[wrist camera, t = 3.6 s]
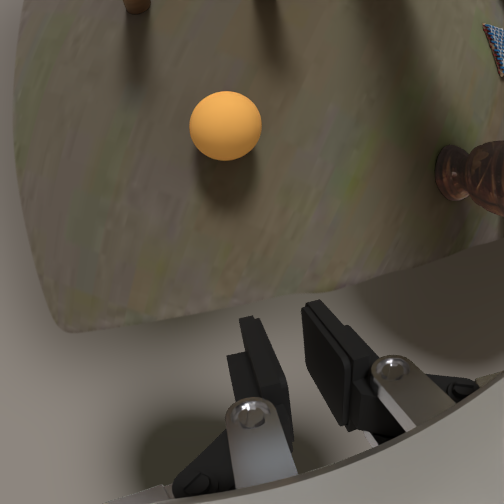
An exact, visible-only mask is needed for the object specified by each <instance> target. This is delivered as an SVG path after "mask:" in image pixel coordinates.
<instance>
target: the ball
mask: <svg viewBox="0 0 504 504" xmlns="http://www.w3.org/2000/svg"><path fill="white" fill-rule="evenodd" d="M189 128H190V135H191V138H192V141H193V142H194V144H195V146H196V147H197V148H198V149H199V150H200V151H201V152H202V153H203V154H205V155H206V156H208V157H210V158H212V159H216V160H222V161H228V160H234V159H237V158H240V157H242V156H244V155H245V154H247V153H248V152H249V151H250V150H252V149H253V147H254V146H255V145H256V143H257V142H258V139H259V137H260V134H261V128H262V123H261V117H260V114H259V111H258V109H257V108H256V106H255V105H254V104H253V103H252V101H250V100H249V99H248V98H247V97H245V96H243V95H241V94H239V93H235V92H230V91H223V92H217V93H214V94H211V95H209V96H207V97H206V98H204V99H203V100H202V101H200V102H199V104H198V105H197V106H196V107H195V109H194V111H193V113H192V115H191V118H190V125H189Z"/></svg>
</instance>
